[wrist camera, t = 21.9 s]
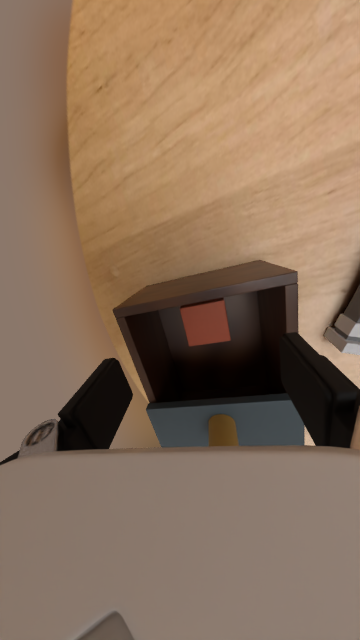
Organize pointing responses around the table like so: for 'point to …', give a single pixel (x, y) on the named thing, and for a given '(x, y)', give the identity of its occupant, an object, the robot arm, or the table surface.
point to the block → (205, 322)
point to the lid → (228, 422)
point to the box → (215, 358)
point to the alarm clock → (347, 328)
